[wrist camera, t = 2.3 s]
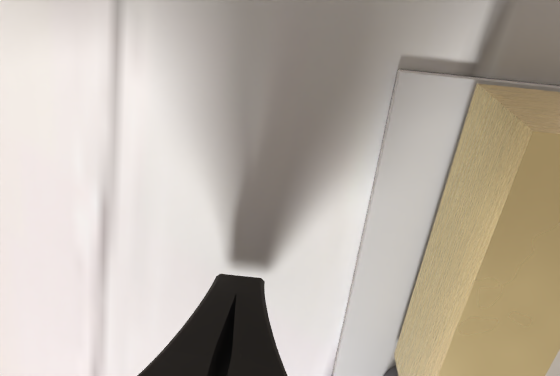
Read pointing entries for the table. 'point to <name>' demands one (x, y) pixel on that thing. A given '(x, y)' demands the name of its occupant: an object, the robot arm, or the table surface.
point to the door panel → (405, 214)
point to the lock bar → (493, 247)
